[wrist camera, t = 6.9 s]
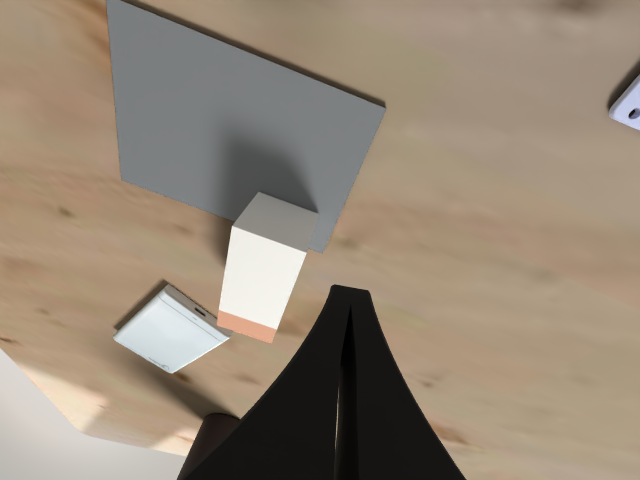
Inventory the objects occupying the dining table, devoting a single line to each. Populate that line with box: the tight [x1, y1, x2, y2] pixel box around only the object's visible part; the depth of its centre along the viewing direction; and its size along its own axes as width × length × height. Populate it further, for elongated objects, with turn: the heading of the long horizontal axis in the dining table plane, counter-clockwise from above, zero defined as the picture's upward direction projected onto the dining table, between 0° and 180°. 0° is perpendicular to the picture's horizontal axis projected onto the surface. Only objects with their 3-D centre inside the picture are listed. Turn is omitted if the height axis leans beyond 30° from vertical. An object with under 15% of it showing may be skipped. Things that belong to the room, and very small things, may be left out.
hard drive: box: [113, 284, 234, 373], centre depth 31 cm, size 2×8×12 cm
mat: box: [106, 0, 386, 254], centre depth 18 cm, size 16×11×1 cm
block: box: [217, 192, 319, 343], centre depth 21 cm, size 4×4×10 cm
